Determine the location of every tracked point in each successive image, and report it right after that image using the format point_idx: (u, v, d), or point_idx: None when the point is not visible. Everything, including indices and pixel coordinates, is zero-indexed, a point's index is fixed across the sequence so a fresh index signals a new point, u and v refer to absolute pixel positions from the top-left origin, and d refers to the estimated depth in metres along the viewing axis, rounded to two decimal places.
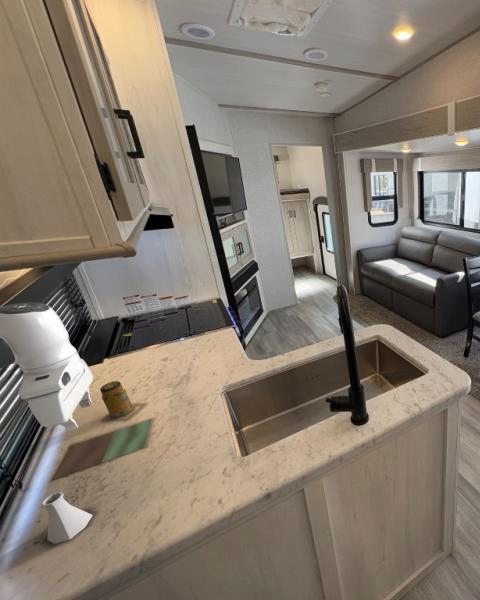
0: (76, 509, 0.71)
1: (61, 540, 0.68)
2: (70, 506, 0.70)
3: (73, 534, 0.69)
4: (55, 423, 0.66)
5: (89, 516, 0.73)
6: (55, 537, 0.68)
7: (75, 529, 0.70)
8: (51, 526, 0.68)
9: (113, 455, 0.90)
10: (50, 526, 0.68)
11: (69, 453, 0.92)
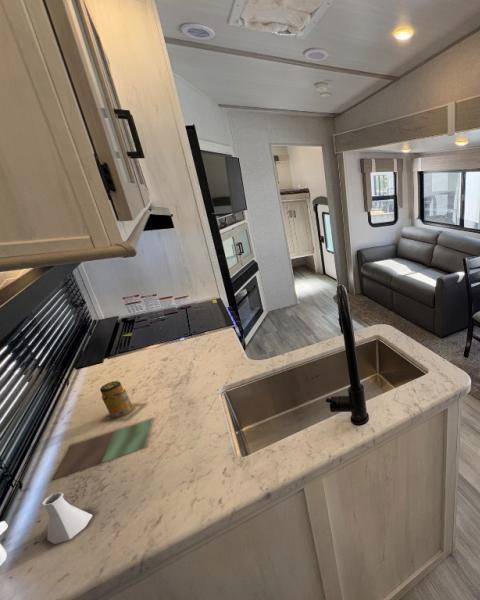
0: (76, 509, 0.71)
1: (61, 540, 0.68)
2: (70, 506, 0.70)
3: (73, 534, 0.69)
4: None
5: (89, 516, 0.73)
6: (55, 537, 0.68)
7: (75, 529, 0.70)
8: (51, 526, 0.68)
9: (113, 455, 0.90)
10: (50, 526, 0.68)
11: (69, 453, 0.92)
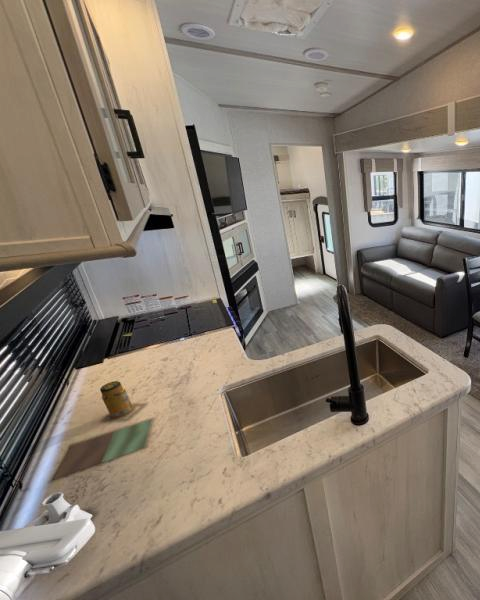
0: None
1: None
2: None
3: None
4: None
5: (89, 516, 0.73)
6: None
7: None
8: None
9: (113, 455, 0.90)
10: None
11: (69, 453, 0.92)
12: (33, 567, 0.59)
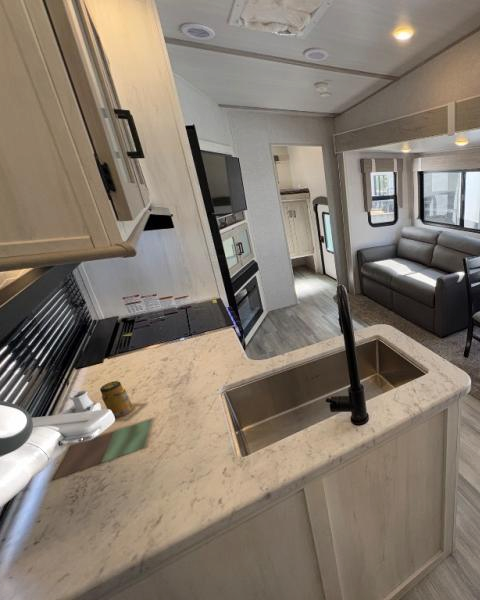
0: None
1: None
2: None
3: None
4: None
5: None
6: None
7: None
8: None
9: (113, 455, 0.90)
10: None
11: (69, 453, 0.92)
12: (65, 438, 0.71)
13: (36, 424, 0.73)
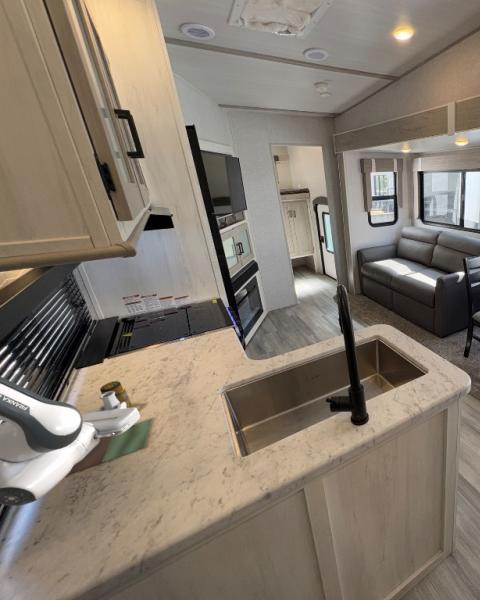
0: None
1: None
2: None
3: None
4: None
5: None
6: None
7: None
8: None
9: (113, 455, 0.90)
10: None
11: None
12: (99, 433, 0.81)
13: None
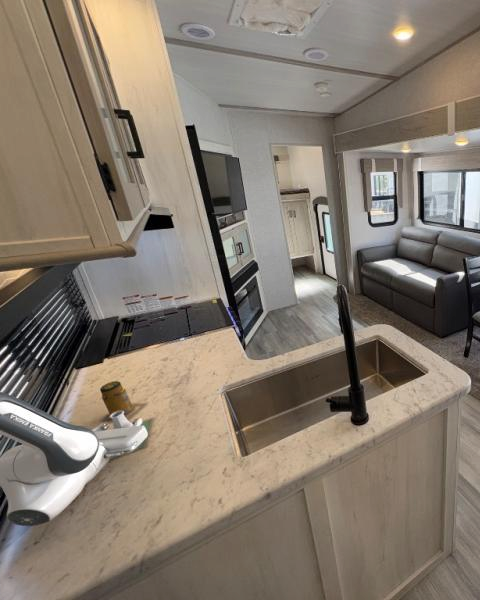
0: (132, 424, 0.95)
1: None
2: (128, 421, 0.95)
3: None
4: None
5: None
6: None
7: None
8: None
9: None
10: None
11: None
12: (109, 452, 0.83)
13: None
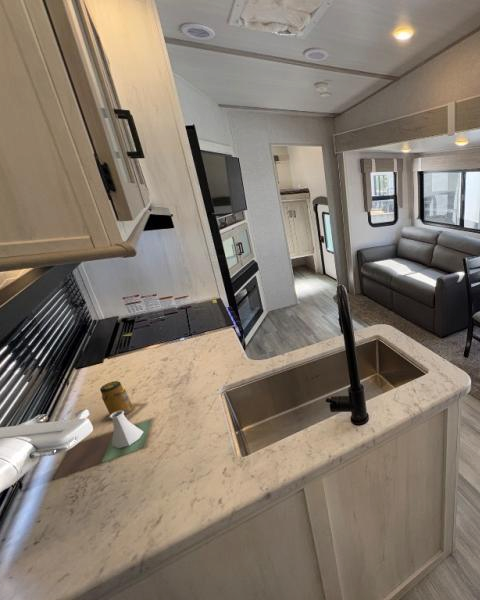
0: (132, 424, 0.95)
1: (123, 445, 0.93)
2: (128, 421, 0.95)
3: (131, 441, 0.94)
4: None
5: (141, 431, 0.97)
6: (119, 442, 0.92)
7: (132, 438, 0.94)
8: (115, 434, 0.92)
9: (113, 455, 0.90)
10: (115, 434, 0.93)
11: (69, 453, 0.92)
12: (37, 450, 0.66)
13: (7, 434, 0.69)
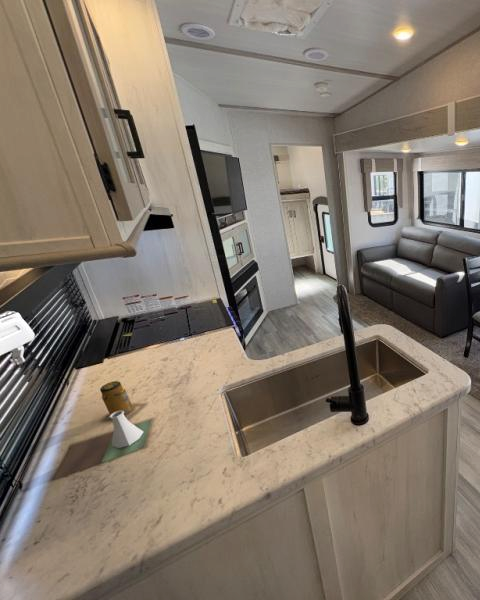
0: (132, 424, 0.95)
1: (123, 445, 0.93)
2: (128, 421, 0.95)
3: (131, 441, 0.94)
4: None
5: (141, 431, 0.97)
6: (119, 442, 0.92)
7: (132, 438, 0.94)
8: (115, 434, 0.92)
9: (113, 455, 0.90)
10: (115, 434, 0.93)
11: (69, 453, 0.92)
12: None
13: None
